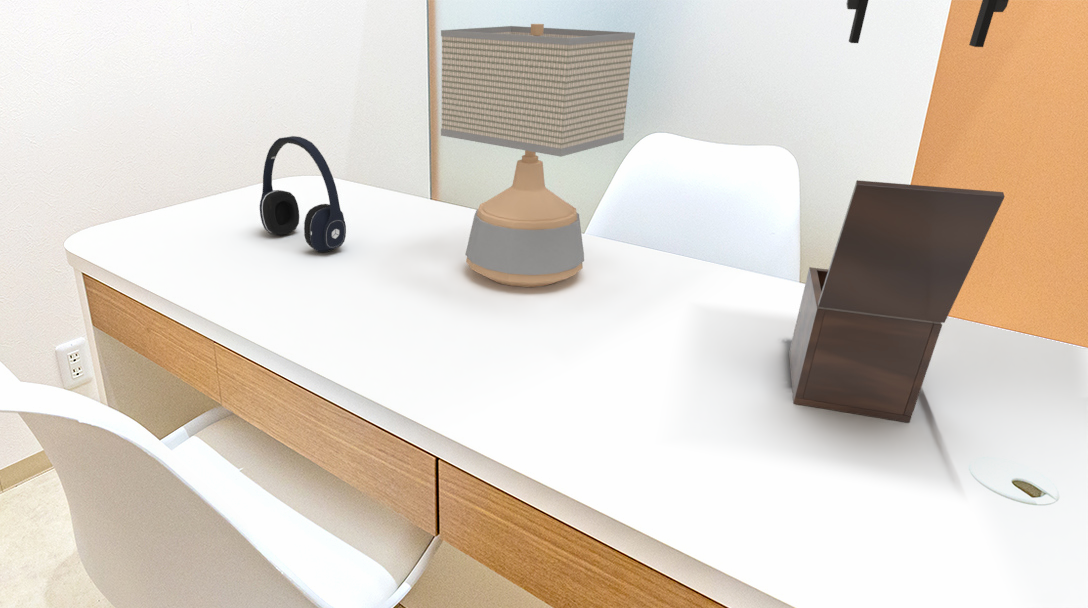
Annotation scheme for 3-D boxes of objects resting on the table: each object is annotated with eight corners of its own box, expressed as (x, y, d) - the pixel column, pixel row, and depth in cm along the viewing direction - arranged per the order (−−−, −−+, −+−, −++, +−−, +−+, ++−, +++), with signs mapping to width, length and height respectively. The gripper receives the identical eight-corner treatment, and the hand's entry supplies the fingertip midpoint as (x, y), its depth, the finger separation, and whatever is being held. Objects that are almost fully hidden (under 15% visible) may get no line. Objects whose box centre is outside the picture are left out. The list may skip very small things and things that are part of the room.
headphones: (354, 250, 130) (348, 143, 122) (322, 259, 126) (314, 148, 118) (287, 226, 143) (277, 127, 134) (255, 234, 138) (244, 132, 130)
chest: (788, 353, 95) (809, 267, 90) (890, 368, 92) (918, 279, 87) (793, 403, 84) (817, 308, 79) (909, 423, 81) (942, 324, 75)
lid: (856, 180, 69) (856, 184, 68) (1003, 191, 65) (1005, 196, 65) (818, 302, 79) (818, 306, 78) (943, 318, 75) (944, 323, 75)
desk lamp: (613, 273, 121) (641, 24, 104) (544, 307, 108) (563, 30, 92) (507, 244, 134) (517, 19, 117) (434, 271, 121) (433, 23, 104)
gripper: (1110, -199, 72) (1029, 45, 82) (841, -185, 80) (796, 38, 90) (1143, -216, 66) (1051, 50, 76) (847, -199, 73) (798, 42, 83)
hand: (913, 44), depth 83 cm, fingers open, 11 cm apart
